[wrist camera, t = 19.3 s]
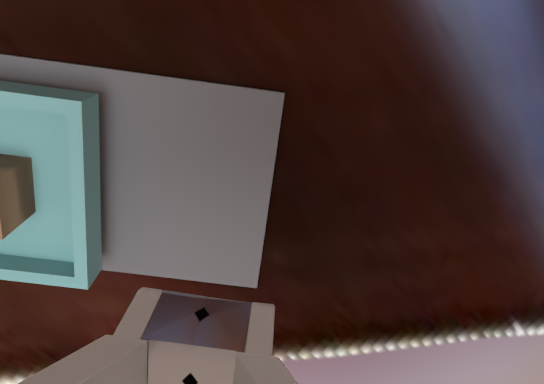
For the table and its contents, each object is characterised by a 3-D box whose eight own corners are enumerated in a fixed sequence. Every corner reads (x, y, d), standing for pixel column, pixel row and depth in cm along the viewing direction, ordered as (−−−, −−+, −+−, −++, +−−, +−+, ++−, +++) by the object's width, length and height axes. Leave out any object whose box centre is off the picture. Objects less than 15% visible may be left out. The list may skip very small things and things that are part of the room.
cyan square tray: (106, 89, 33) (81, 101, 29) (108, 258, 39) (87, 289, 35) (-82, 64, 33) (-137, 72, 28) (-52, 239, 39) (-94, 268, 34)
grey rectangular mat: (284, 92, 34) (284, 93, 34) (256, 285, 41) (256, 288, 40) (-141, 34, 33) (-145, 34, 32) (-95, 244, 40) (-99, 246, 39)
